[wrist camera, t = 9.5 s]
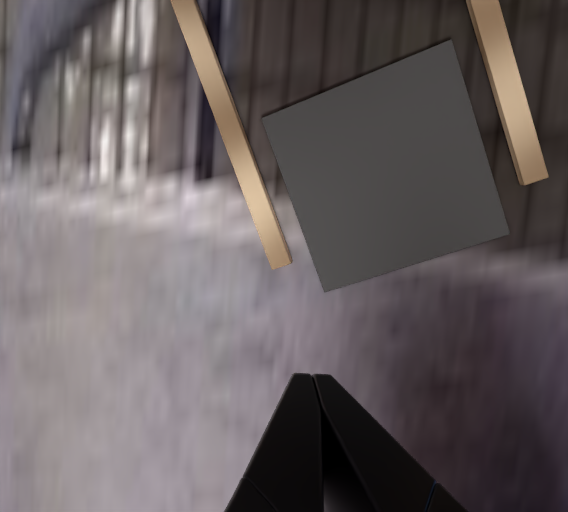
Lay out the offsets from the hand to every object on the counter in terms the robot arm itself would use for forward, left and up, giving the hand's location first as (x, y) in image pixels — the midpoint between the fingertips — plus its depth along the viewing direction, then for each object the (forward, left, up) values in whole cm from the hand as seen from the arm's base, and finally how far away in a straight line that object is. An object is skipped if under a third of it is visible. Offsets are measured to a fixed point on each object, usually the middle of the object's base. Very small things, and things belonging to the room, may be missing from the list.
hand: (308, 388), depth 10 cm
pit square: (0, -5, -13) cm, 14 cm away
